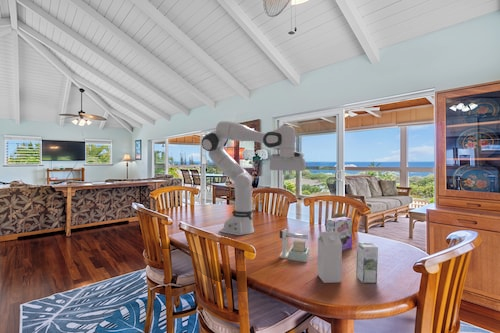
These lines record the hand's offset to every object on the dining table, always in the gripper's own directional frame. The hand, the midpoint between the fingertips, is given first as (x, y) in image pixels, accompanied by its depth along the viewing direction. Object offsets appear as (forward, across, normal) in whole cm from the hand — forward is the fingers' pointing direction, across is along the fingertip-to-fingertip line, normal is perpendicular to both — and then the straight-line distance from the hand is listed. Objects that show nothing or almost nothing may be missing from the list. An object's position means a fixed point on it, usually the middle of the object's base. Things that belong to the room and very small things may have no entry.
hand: (287, 178), depth 144 cm
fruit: (+37, +28, +25) cm, 53 cm away
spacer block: (+37, +10, -18) cm, 42 cm away
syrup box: (+37, +39, -32) cm, 63 cm away
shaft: (+29, +7, -18) cm, 35 cm away
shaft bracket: (+37, +8, -18) cm, 42 cm away
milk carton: (+37, +25, -36) cm, 58 cm away
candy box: (+37, +28, +2) cm, 47 cm away
